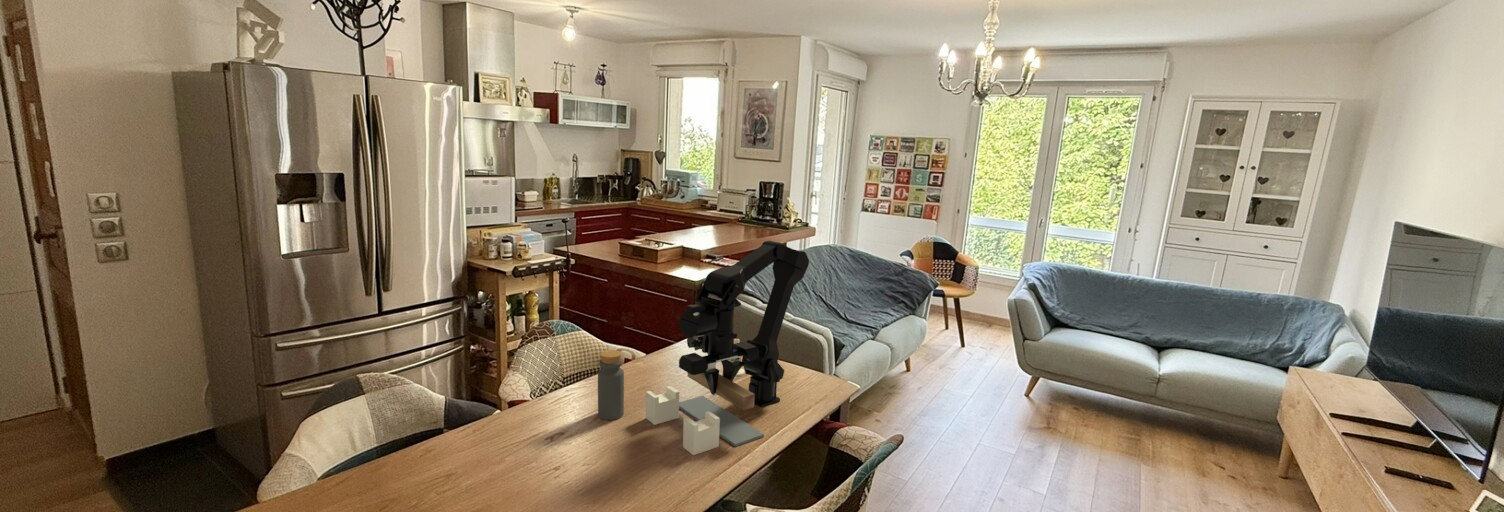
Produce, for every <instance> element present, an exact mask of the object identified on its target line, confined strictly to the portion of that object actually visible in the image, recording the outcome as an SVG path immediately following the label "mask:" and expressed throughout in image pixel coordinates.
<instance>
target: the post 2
mask: <svg viewBox="0 0 1504 512" xmlns="http://www.w3.org/2000/svg"><path fill="white" fill-rule="evenodd" d="M719 427H720V418H719V417H717V416H716V415H714V414H713V413H711V412H710V411H707V412H705V419H702V420H699V421H697V420H695V421H694V420H693V419H691V418H689V416H688V417H684V418H683V427H682V428H683V431H682V435H683V436H682V448H684V449H685V450H686V451H688V452H689V454H691V455H692V456H695V455H698V454H701V453H704V452H707V451H710V450H713V449H717V448H719V447H720V446H719V445H720V436H719Z"/></svg>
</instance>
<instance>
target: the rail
mask: <svg viewBox="0 0 1504 512" xmlns="http://www.w3.org/2000/svg"><path fill="white" fill-rule="evenodd" d="M687 377H688V378H689V379H690V380H693V381H694V382H696V383H697V384H699V385H701V386H702V387H704V388H705V389H707V390H709V391H710V389H709V386H708V383H707V380H706V378H705V376H704V374H703V373H701V374H697V375H691V374H689V373H688V372H687ZM715 395H717V396H719V397H720V398H722V399H724V400H725V401H727V402H729V403H730V404H731V405H734V406H735V407H737V408H738V409H740V410H741V411H747V410H749V409H752V408H755V403H754V399H755V394H754V393H752V392H750V391H749V389H746V388H745V387H743V386H741V385H740V384H738V383H736V382H734V381H730V380H729V379H727V378H725V377H723V374H722V375H721V374H720V373H719V377H718V383H717V389H716V393H715Z"/></svg>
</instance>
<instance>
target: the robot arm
mask: <svg viewBox="0 0 1504 512" xmlns="http://www.w3.org/2000/svg"><path fill="white" fill-rule="evenodd" d="M772 263H773V264H772ZM809 264H810V259H809V257H808V254H807V253H806V252H805V251H802V250H797V249H793V248H791V247H788V246H787V245H785V244H784V243H782V242H779V241H772V240H765V241H764V242H763V243H762V244H761V246H758V247H757V248H756V249H755V250H753V251H751V252H750V253H748V254H747V255H746V256H745V257H743V258H742V259H740V260H738V261H737V262H736V263H734V264H732V265H729V266H723V267H720V268H716V269H715V270H712V271H710V272H709V273H708V274H707V275H706V277H705V280H704V282H703V284H702V286H701V288H700V290H699V292H698V294H697V296H696V297H695V300H694V301H695V303H696V304H689V305H686V307H685V311H684V312H682V313H681V315H680V317H679V319H678V325H679V329H680V332H681V333H682V335H684V337H686V344H687V347H688V348H689V349H692V348H694V351H696V352H697V351H698V350H701V352H702V353H703V354H707V355H704V356H701V355H700V354H698V353H696V352H691V353H687V354H684V355H681V356H680V357H679V360H678V368H679V369H681V370H683V371H684V372H686V373H687V374H688V373H689V374H691V375H697V374H701V373H703V374H704V376H705V378H706V380H707V383H708V386H709V389H710V390H709V389H708V390H709V391H710V394H711V395H712V396H714V395H716V394H715V393H716V389H717V383H718V377H719V374H720V369H717V368H716V366H717V363H719V362H720V363H721V365H722V376H723V377H725V378H727V379H729V380H730V381H732V382H734V379H735V378H736V377H737V376H736V374H737V373H738V371H739V370H740V368H742V367H743V369H744V370H745V374H744V375H748V376H750V377H749V378H750V379H749V383H748V391H750V392H752V393H754V394H755V399H754V405H755V404H756V405H757V406H759V407H764V406H768V405H770V404H774V403H777V402H780V401H781V398H780V397H779V396H777V387H778V383H780V382H781V380H782V379H783V378H784V374H785V369H784V368H783V366H782V365H781V364H780V363H779V362H778V361H779V356H780V352H779V346H778V342H777V341H778V337H779V335H780V332H781V329H782V325H783V322H784V319H785V315H786V313H787V310H788V306H789V303H790V300H791V296H792V293H793V290H794V287H795V286H796V285H798V284H799V283H800V281H802V279H804V277H805V274H806V272H807V269H808V267H809ZM770 265H772V273H773V277H774V281H773V286H772V288H771V291H770V295H769V298H768V301H767V304H766V307H765V309H764V313H763V316H762V319H761V323H760V326H759V329H758V332H757V335H756V336H754V338H753V339H751V340H750V339H747V341H742V342H741V341H739V343H736V344H734V339H738V333H737V332H734V331H735V329H734V327H735V308H737V307H741V305H742V303H741V302H740V301H739V300H738V299H737V298H738V296H740V295H741V293H743V291H744V290H745V287H746V283H747V282H749V280H751V279H752V278H754V277H755V276H757V275H758V274H759V273H760V272H762V271H763V270H764V269H766V268H768V266H769V267H770ZM709 296H710V297H709ZM716 298H717V299H716ZM741 357H742V358H741Z"/></svg>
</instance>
